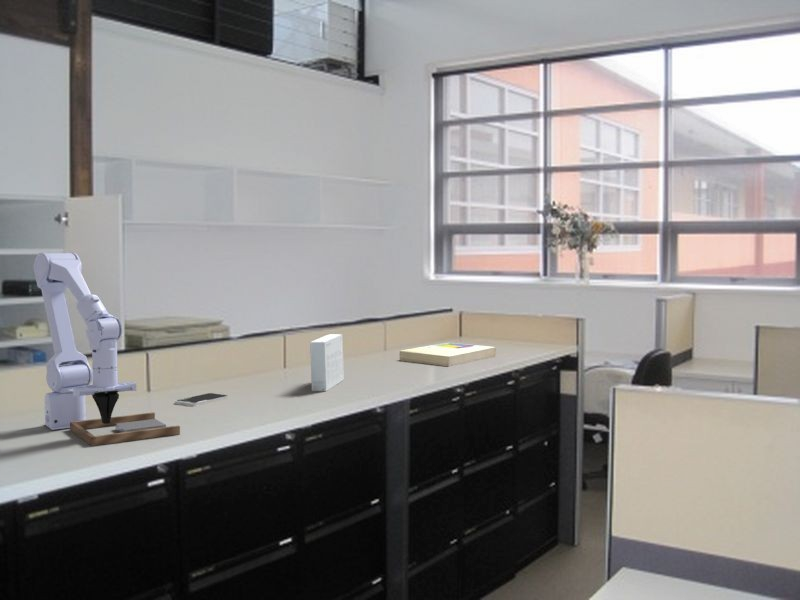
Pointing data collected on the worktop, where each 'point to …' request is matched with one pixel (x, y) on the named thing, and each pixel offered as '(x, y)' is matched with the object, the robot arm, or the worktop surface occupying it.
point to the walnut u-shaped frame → (92, 440)
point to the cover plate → (139, 425)
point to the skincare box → (326, 362)
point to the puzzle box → (447, 354)
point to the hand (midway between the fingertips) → (106, 422)
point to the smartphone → (201, 399)
